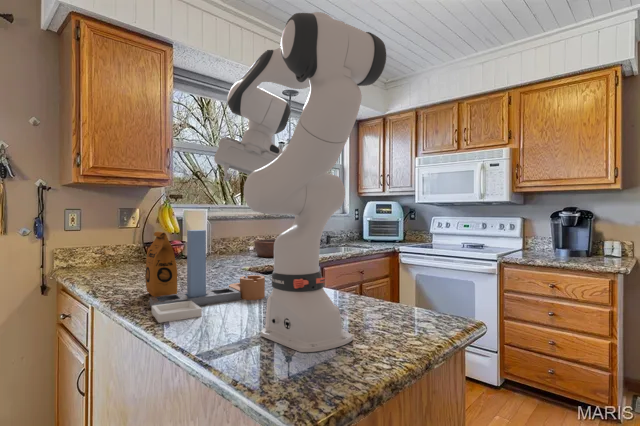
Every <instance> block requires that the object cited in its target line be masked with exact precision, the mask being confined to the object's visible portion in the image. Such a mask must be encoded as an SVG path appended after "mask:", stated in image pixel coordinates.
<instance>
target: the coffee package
mask: <svg viewBox="0 0 640 426" xmlns="http://www.w3.org/2000/svg"><path fill="white" fill-rule="evenodd" d="M153 236H154V237H155V239H154V240H153V241H152V243H151V244H150V245H149V247H148V250H147V252H146V258H145V259H146V261H145V275H144V278H145V286H146V292H147V293H148V294H149V295H150V296H151V297H155V296H163V295H172V294H178V285H179V284H178V266H177V265H178V264H177V260H176V257H175V252H174V249H173V247H172V245H171V243H170V241H169V238H168V236H167V233H166V232H163V231H158V230H157V231H155V232H154V234H153Z"/></svg>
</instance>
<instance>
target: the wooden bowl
mask: <svg viewBox="0 0 640 426" xmlns="http://www.w3.org/2000/svg"><path fill="white" fill-rule="evenodd" d="M275 240H276V238H275V239H274V238H272V239H271V238H270V239H269V238H267V239H256V240H254V249H255V252H256V255H257V256H258V257H260V258H274V242H275Z"/></svg>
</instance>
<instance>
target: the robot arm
mask: <svg viewBox="0 0 640 426" xmlns="http://www.w3.org/2000/svg"><path fill="white" fill-rule="evenodd" d="M280 46H281V47H279V48H276V49H267V50H266V51H264V52H263V53H262V54H261V55H260V56H259V57H258V58H257V59H256V60H255V61H254V63H252V64H251V66H249V68H248V70H247V71H246V72H245V73H244V74H243V75H242V77H241V78H239V79H238V80H236V82H235V83H234V84H233V85H232V86H231V88H230V90H229V92H228V94H227V99H226V100H227V101H226V103H227V106H228V108H229V109H230V111H231V113H232V114H234V115H236V116H239V117H243V118H245V119H247V120H248V121H247V129H246V130H245V131H244V133H243V135H242V138H241V140H239V139H236V138H232V137H230V136H224V137H221V138H220V139H219V142H218V148H217V150H216V152H215V154H214V156H213V157H214V158H213V160H214V162H215V164H216V165H220V166H222V167H223V173H224V177H223V180H224V181H226V182H229V181H230V178H231V176H232V175H231V174H230V173H229V172H228V171H229V169H231V170H234V171H237V172H240V173H243V174H246V175H248V176H247V177H246V180H245V182H244V184H243V185H244V186H243V197H244V201H245V203H246V204H247V206H248V208H250V210H251V211H252V212H257V213H261V214H266V215H270V216H274V215H275V216H281V215H282V216H283V215H285V216H287V215H289V216H291V215H294V221H293V223H292V225H291V226H290V227H289V228H288V229H286V230H284V231H283V232H281V233H279V235H278V236H276V238H275V239H276V240H275V242H274V257H273V270H272V272H271V286H272V288H273V289H272V291H271V294H269V296H268V298H267V299H266V309H265V310H266V313H265V324H264V325H265V327H264V328H263V329H260V334H259V335H260V336H261V337H262V338H266V339H268V340H269V341H272V342H274V343H277V344H280V345H282V346H284V347H287V348H290V349H292V350H295V351H297V352H299V353H313V352H314V353H315V352H321V351H322V352H323V351H327V350H330V349H335V348H338V347H343V346H344V345H347V344H349V343H351V342H352V341H353V339H354V338H353V335H352V334H351V333H350V332H348V331H347V330H345V329H344V328H343V327H342V315H341V312H340V307H339V306H338V305H335V304H334V302H333V300H332V299H331V298H330V297H329V295H328V293H327V292H326V291H325V289H324V283H326V281H324V280H325V279H326V277H323V276H322V273H321V271H320V249H321V239H322V235H323V232H324V229H325V227H326V226H327V223H328V222H329V220H330V219H331V217H332V216H333V215H334V214H335V213H336V212H337V211H339V210H340V208H342V206H343V203H344V201H345V198H346V189H345V185H344V183H343V181H342V179H341V178H340V176H338V175H336V174H332V173H329V171H330V170H331V169H332V168H334V166H336V164H337V163H338V162H337V161H338V160H339V158H340V156H341V154H342V152H343V149H344V147H345V145H346V143H347V142H348V139H349V137H350V135H351V132H352V131H353V128H354V125H355V123H356V121H357V118H358V114H359V111H360V107H361V104H362V96H363V95H362V91H361V88H360V86H361V87H363V86H364V87H366V86H370V85H373V84H375V83H376V81H378V79H380V76H381V75H382V73H383V72H384V69H385V67H386V63H387V62H386V61H387V49H386V43H385V42H384V41H383V39H381V38H380V37H379V36H377V35H376V34H374V33H372V32H370V31H364V30H362V29H360V28H358V27H355V26H353V25H350V24H347V23H345V21H341V20H339V19H334V18H333V17H332V16H330V15H329V14H327V13H325V12H319V11H315V12H311V13H309V12H296V13H294V14H293V15H292V16H291V17H290V18H289V19H287V21H286V24H285V27H284V29H283V31H282V34H281V39H280ZM262 83H272V84H277V85H280V86H284V87H286V88H290V89H295V90H303V89H308V88H309V94H308V97H307V99H306V102H305V104H304V106H303V108H302V112H301V114H300V116H299V118H298V119H299V120H298V122H297V124H296V127H295V128H294V132H293V135H292V136H291V138H290V140H289V142H288V144H287V146H286V147H285V149H284V150H282V149H281V148H280V147H279V146H278V145H276V144H274V143H273V142H272V141H273V139H272V138H273V136H274V135H277V134H279V133H281V132H283V131H284V130H285V129H286V127H287V125H288V121H289V118H290V115H291V113H292V112H291V108H290V105H289V102H288V101H286V100H285V99H284V98H281V97H280V96H277V95H276V94H273V93H271V92H269V91H267V90H265V89H264V88H261V87H259V86H260V85H261V84H262Z"/></svg>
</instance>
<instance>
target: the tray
mask: <svg viewBox="0 0 640 426" xmlns="http://www.w3.org/2000/svg"><path fill="white" fill-rule="evenodd" d="M202 309H203V308H202V307H200V306H198V305H196V304H195V303H194V302H193V301H184V302H176V303H169V304H161V305H153V306H152V308H151V315H152V316H153V317H154V318H155V320H156V321H157V323H158V324H159V323H167V322H172V321H179V320H186V319H187V320H188V319H192V318H197V317H202V316H203V310H202Z"/></svg>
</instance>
